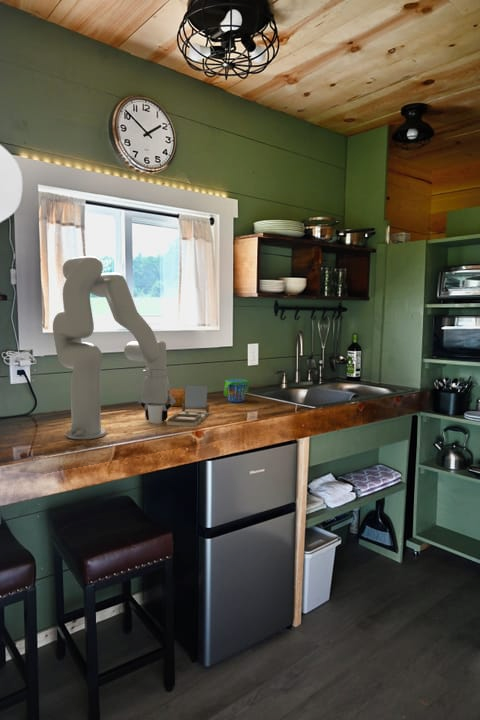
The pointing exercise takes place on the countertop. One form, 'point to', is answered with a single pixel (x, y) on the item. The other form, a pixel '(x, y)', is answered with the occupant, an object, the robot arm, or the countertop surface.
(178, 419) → the jig board
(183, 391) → the croissant
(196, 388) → the flap
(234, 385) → the snack cup
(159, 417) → the white tapered cup
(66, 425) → the countertop surface
